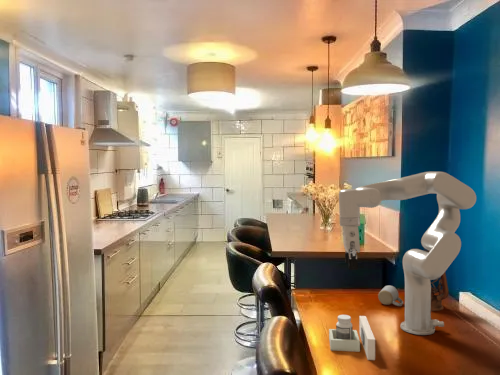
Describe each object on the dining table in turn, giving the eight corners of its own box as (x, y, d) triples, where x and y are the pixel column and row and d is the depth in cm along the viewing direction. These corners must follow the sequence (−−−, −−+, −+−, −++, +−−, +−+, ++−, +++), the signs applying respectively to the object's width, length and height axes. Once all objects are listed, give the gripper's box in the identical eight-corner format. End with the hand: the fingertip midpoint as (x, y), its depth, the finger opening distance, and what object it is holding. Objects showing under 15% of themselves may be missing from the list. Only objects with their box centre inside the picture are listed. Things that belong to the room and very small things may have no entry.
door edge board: (365, 333, 159) (365, 316, 158) (375, 360, 137) (375, 339, 136) (358, 333, 159) (358, 315, 159) (366, 359, 137) (366, 339, 137)
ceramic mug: (377, 304, 193) (377, 288, 193) (382, 299, 200) (383, 283, 200) (400, 308, 187) (400, 292, 187) (405, 303, 194) (405, 287, 193)
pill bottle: (341, 339, 153) (341, 313, 152) (355, 343, 149) (355, 316, 149) (333, 344, 149) (333, 317, 148) (347, 348, 145) (347, 320, 144)
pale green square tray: (356, 339, 153) (356, 330, 153) (359, 351, 143) (359, 341, 143) (329, 338, 155) (329, 328, 154) (330, 350, 145) (330, 339, 145)
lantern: (407, 308, 187) (407, 242, 186) (409, 299, 199) (409, 238, 198) (448, 313, 180) (449, 245, 179) (448, 304, 192) (448, 240, 191)
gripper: (363, 224, 147) (365, 271, 148) (356, 218, 164) (357, 260, 165) (342, 225, 148) (344, 272, 149) (337, 219, 165) (338, 261, 166)
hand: (351, 266), depth 157 cm, fingers open, 9 cm apart
